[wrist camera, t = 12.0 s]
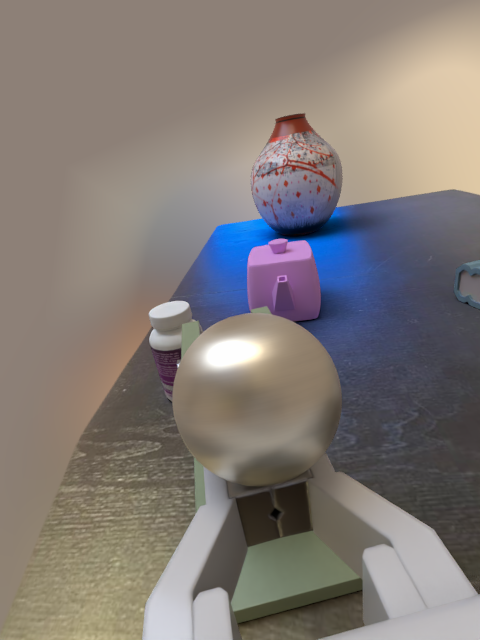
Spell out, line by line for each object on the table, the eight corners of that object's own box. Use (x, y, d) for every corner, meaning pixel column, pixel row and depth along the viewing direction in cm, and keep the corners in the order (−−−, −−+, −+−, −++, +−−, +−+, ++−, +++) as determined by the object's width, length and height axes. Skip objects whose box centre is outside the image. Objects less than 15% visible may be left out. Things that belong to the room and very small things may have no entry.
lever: (393, 494, 6) (346, 286, 6) (183, 548, 6) (137, 330, 6) (270, 383, 20) (257, 322, 20) (209, 396, 20) (196, 335, 20)
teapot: (328, 333, 43) (324, 254, 39) (246, 340, 45) (232, 265, 41) (315, 282, 59) (311, 222, 55) (254, 289, 61) (245, 232, 57)
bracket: (369, 588, 19) (369, 377, 13) (204, 633, 18) (123, 433, 12) (300, 431, 29) (283, 278, 23) (196, 456, 29) (151, 306, 23)
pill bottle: (206, 406, 34) (184, 320, 30) (158, 405, 36) (130, 322, 32) (220, 374, 39) (203, 295, 35) (177, 374, 41) (155, 299, 36)
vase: (273, 225, 110) (261, 125, 98) (349, 218, 100) (346, 107, 88) (245, 245, 91) (226, 125, 79) (336, 240, 82) (330, 102, 70)
